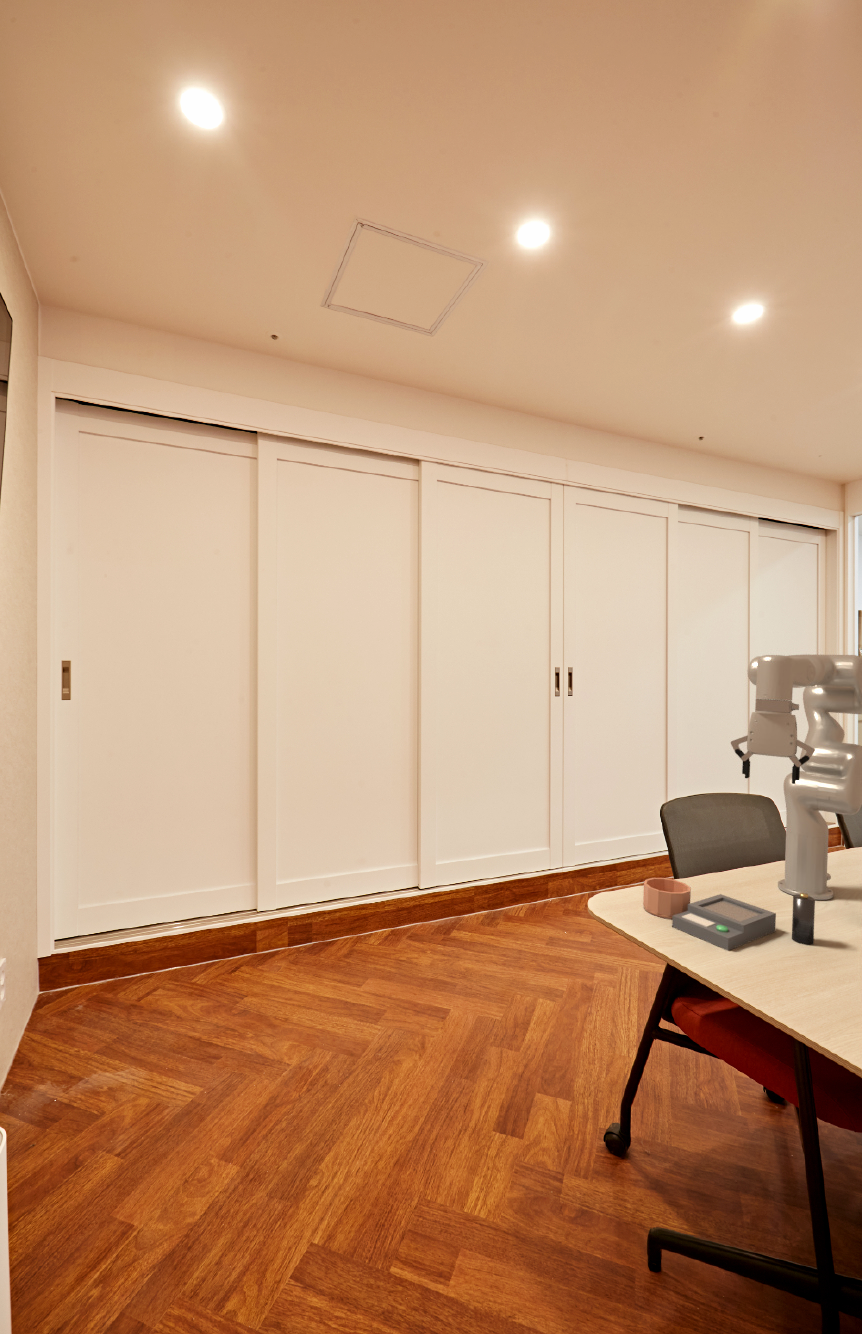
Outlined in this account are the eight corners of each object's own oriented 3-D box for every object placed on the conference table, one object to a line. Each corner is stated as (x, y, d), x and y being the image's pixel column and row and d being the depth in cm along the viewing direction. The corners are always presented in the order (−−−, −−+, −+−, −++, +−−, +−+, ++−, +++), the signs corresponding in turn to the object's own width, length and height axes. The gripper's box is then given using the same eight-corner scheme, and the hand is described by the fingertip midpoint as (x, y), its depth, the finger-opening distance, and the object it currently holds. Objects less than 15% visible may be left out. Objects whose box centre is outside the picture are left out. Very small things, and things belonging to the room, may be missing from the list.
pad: (723, 904, 144) (723, 900, 144) (762, 918, 137) (762, 914, 137) (700, 912, 139) (700, 907, 139) (739, 927, 132) (739, 922, 132)
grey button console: (719, 910, 147) (720, 894, 147) (775, 931, 136) (775, 913, 136) (672, 926, 137) (672, 908, 137) (727, 950, 126) (728, 930, 126)
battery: (797, 935, 135) (799, 889, 135) (817, 942, 131) (818, 895, 131) (788, 939, 132) (789, 892, 132) (807, 946, 129) (809, 898, 129)
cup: (661, 899, 153) (662, 875, 153) (698, 913, 145) (699, 888, 145) (634, 907, 147) (635, 882, 147) (672, 922, 139) (672, 896, 139)
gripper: (817, 710, 143) (813, 783, 143) (734, 705, 152) (731, 774, 152) (816, 710, 137) (812, 787, 136) (730, 705, 146) (727, 777, 146)
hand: (770, 780), depth 144 cm, fingers open, 9 cm apart
